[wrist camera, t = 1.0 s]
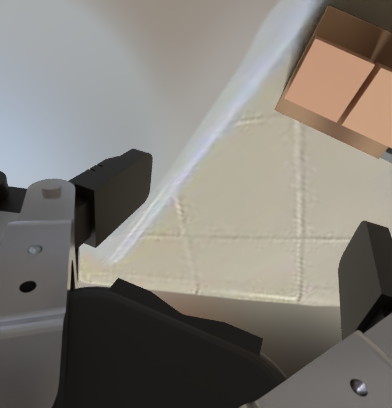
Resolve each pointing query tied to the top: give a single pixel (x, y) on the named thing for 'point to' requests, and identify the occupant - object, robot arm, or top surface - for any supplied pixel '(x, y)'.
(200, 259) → the top surface
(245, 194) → the top surface
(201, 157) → the top surface
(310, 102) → the tile
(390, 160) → the tray
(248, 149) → the top surface
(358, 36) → the brown block
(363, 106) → the tile
